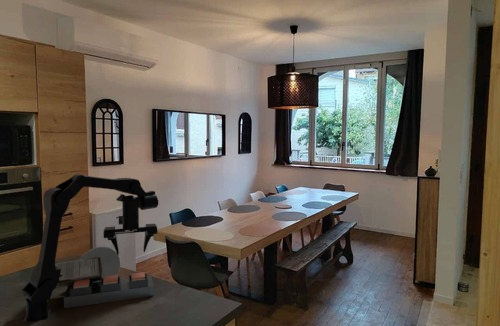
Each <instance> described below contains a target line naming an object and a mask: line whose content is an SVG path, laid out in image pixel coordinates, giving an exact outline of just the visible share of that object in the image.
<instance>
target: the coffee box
mask: <svg viewBox="0 0 500 326" xmlns="http://www.w3.org/2000/svg"><path fill="white" fill-rule="evenodd" d="M55 266H56V267H58V268H60V269H61V273H60V276H59V281H60V283H58V282H57V286H56V288H55V289H54V290H56V289H62V288H67V287H68V286H69V285H72V282H75V280H82V279H90V280H93V282H96V281H101V279H102V263H101V259H100V257H97V258H90V259H83V260H80V259H77V260H71V261H64V262H58V263H56V262H55Z"/></svg>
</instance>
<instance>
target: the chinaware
mask: <svg viewBox="0 0 500 326" xmlns="http://www.w3.org/2000/svg"><path fill="white" fill-rule="evenodd" d="M119 255H120V254H119ZM119 255H117V252H116V250H115V249H113V248H112V247H111V248H110V247H107V246H96V247H94V248H90V249H89V250H88V251H86V252H85V253H84V254H83V255H82V256H81V257H80V259H79V260H83V259H90V258H97V257H100V259H101V263H102V278H104V277H106V276H114V275H118V274H119V272H120V269H121V263H122V262H121V257H120V256H119ZM96 282H101V281H96ZM93 283H94V282H93Z"/></svg>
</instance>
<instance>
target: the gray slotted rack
mask: <svg viewBox="0 0 500 326" xmlns="http://www.w3.org/2000/svg"><path fill="white" fill-rule="evenodd" d="M144 273H145V280H138V281H131V274H128V278H127V277H126V278H121V276H118V283H114V284H106V285H103V280H104V278H102V279H101V282H94V283H93V280H90V287H82V288H74V287H73V285H74V282H72V285H69V286H68V287H66V291H65V293H64V296H63V308H64V309H70V308H77V307H84V306H90V305H92V306H93V305H98V304H104V303H105V304H106V303H112V302H120V301H125V300H132V299H141V298H146V297H154V295H155V292H154V291H155V286H154V281H153V276H152V275H148V273H147V272H144Z"/></svg>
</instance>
